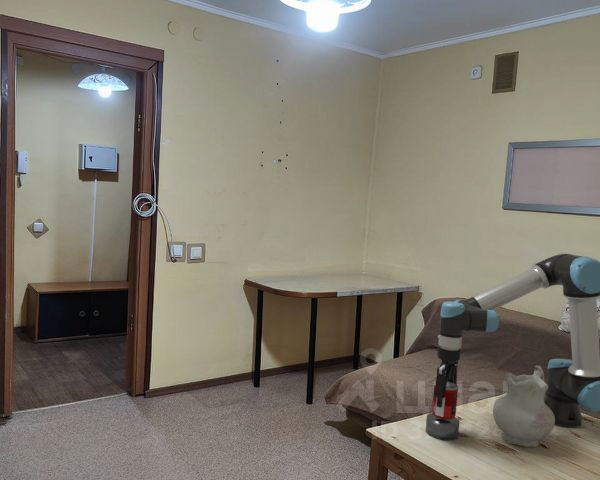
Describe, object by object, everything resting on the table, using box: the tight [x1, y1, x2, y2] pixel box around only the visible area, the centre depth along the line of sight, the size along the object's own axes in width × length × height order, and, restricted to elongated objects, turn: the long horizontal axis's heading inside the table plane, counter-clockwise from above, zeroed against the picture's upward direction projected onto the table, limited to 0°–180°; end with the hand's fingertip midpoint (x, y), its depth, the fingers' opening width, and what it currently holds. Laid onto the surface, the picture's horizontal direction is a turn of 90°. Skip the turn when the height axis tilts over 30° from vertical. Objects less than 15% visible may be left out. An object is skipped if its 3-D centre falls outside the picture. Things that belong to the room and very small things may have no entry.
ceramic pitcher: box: [492, 364, 555, 448], centre depth 178 cm, size 22×20×25 cm
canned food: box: [431, 381, 459, 420], centre depth 178 cm, size 8×8×11 cm
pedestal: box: [425, 412, 460, 442], centre depth 179 cm, size 11×11×5 cm
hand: (443, 411), depth 179 cm, fingers closed on canned food, 8 cm apart
